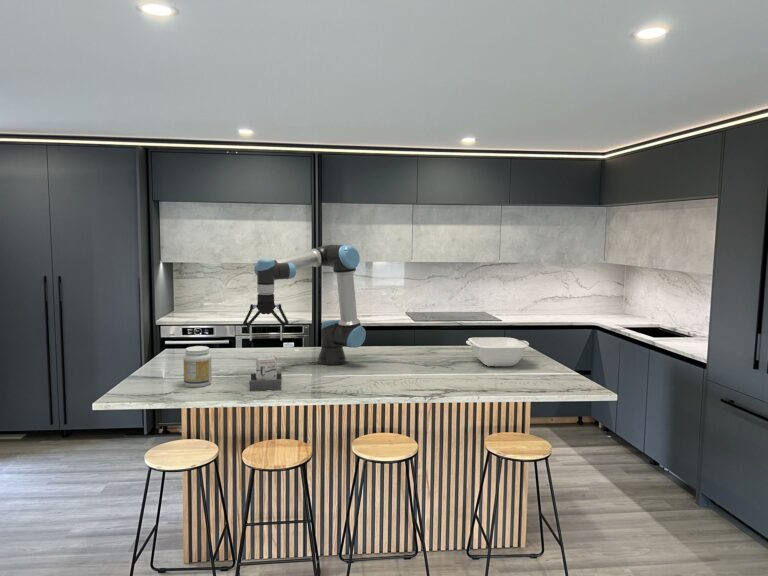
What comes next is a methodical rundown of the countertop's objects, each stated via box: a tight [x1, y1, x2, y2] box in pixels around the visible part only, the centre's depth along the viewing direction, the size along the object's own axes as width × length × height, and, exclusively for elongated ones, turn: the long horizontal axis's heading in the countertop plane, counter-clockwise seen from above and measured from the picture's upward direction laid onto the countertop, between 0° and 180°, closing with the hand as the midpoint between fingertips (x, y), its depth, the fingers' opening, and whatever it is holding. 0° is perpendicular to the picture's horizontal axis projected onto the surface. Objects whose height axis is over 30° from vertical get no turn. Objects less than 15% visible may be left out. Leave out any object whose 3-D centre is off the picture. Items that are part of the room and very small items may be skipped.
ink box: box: [255, 355, 278, 380], centre depth 262 cm, size 9×5×12 cm, turn 117°
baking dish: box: [465, 336, 530, 367], centre depth 315 cm, size 34×28×13 cm
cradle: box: [248, 372, 282, 392], centre depth 263 cm, size 14×14×4 cm
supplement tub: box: [183, 345, 213, 388], centre depth 264 cm, size 12×12×17 cm
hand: (266, 339), depth 261 cm, fingers open, 13 cm apart
